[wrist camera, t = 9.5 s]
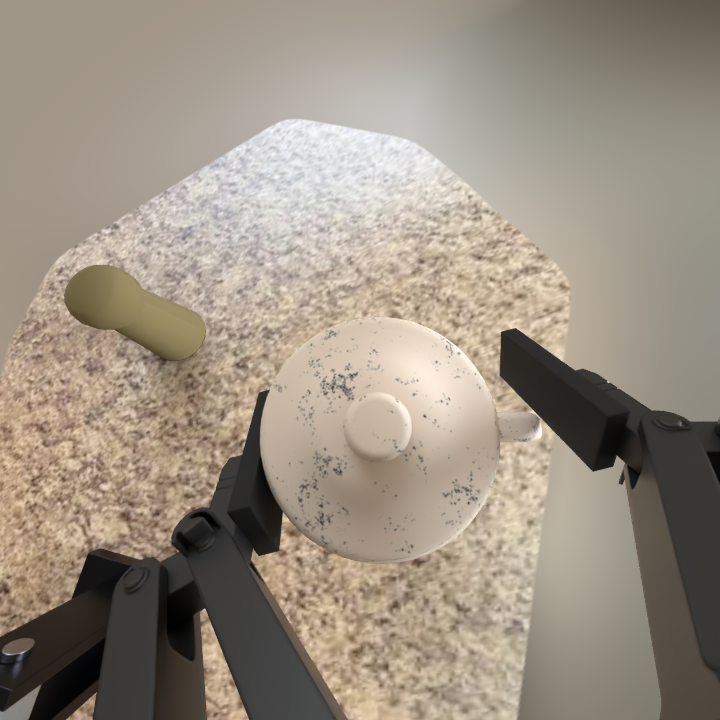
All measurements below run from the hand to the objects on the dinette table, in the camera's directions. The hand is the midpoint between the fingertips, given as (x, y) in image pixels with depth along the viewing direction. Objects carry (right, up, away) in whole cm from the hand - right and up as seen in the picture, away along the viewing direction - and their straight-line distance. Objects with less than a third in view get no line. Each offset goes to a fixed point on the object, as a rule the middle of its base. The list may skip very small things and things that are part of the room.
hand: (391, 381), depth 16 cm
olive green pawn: (-22, +4, +18) cm, 28 cm away
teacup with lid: (+1, -4, +4) cm, 5 cm away
